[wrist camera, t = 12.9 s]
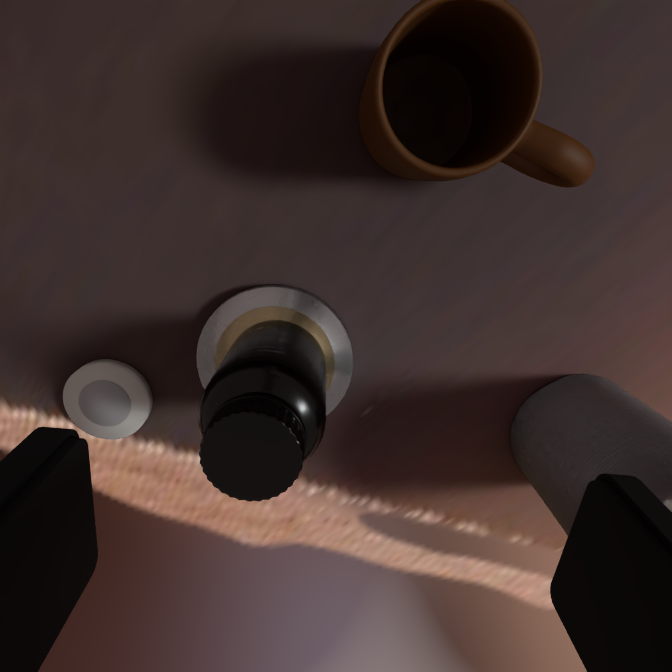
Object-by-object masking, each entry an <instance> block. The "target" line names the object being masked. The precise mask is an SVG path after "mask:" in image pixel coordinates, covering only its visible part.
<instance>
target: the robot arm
mask: <svg viewBox="0 0 672 672" xmlns="http://www.w3.org/2000/svg"><path fill="white" fill-rule="evenodd" d="M97 558H98V548H97V537H96V526H95V516H94V505H93V494H92V483H91V472H90V461H89V451H88V443H87V441H86V440H85V439H83V438H79V435H78V433H77V431H75V430H73V429H62V428H50V427H39V428H37V429H35V430H34V431H33V432H32V433H31V434H30V435H28V436H27V437H26V438H25V439H24V440H23V441H22V442H21V443H20V444H19V445H18V446H17V447H16V448H14V449H13V450H12V451H11V452H10V453H9V454H8V455H7V456H6V457H5V458H4V459H3V460H1V461H0V672H38V670H39V669H40V667H41V665H42V663H43V661H44V660H45V658H46V656H47V654H48V653H49V651H50V649H51V647H52V645H53V644H54V642H55V640H56V638H57V637H58V635H59V633H60V631H61V629H62V628H63V626H64V624H65V622H66V620H67V619H68V617H69V615H70V613H71V612H72V610H73V608H74V606H75V605H76V603H77V601H78V599H79V598H80V596H81V594H82V592H83V591H84V589H85V587H86V585H87V584H88V582H89V580H90V578H91V576H92V574H93V572H94V570H95V566H96V563H97ZM550 593H551V599H552V603H553V605H554V607H555V609H556V611H557V613H558V615H559V617H560V619H561V621H562V623H563V625H564V627H565V629H566V631H567V633H568V635H569V637H570V639H571V641H572V643H573V645H574V647H575V649H576V651H577V653H578V654H579V657H580V658H581V660H582V662H583V664H584V666H585V668H586V670H587V672H672V512H671V511H670V510H669V509H668V508H667V507H666V506H665V505H664V504H663V503H662V502H661V501H660V500H659V499H658V498H657V497H656V496H655V495H654V494H653V493H652V492H651V490H650V489H649V488H648V487H647V486H646V485H645V484H644V483H643V482H642V481H641V480H639V479H638V478H637V477H635V476H631V475H619V474H607V473H603V474H600V475H598V476H597V477H596V479H595V480H593V481H590V482H589V483H588V485H587V487H586V490H585V492H584V495H583V498H582V500H581V503H580V506H579V509H578V511H577V514H576V517H575V520H574V522H573V525H572V528H571V530H570V533H569V536H568V539H567V541H566V544H565V547H564V550H563V552H562V555H561V558H560V561H559V564H558V566H557V569H556V572H555V574H554V577H553V580H552V582H551V587H550Z"/></svg>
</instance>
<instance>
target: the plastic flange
mask: <svg viewBox="0 0 672 672" xmlns="http://www.w3.org/2000/svg"><path fill="white" fill-rule="evenodd" d="M63 403H64V407H65V410H66V412H67V414H68V416H69V417H70V419H71V420H72V421H73V422H74V424H76V425H77V426H78V427H79V428H80V429H81V430H83V431H84V432H86V433H88V434H90V435H92V436H95V437H98V438H102V439H120V438H125V437H127V436H130V435H131V434H133V433H135V432H136V431H137V430H138V429H139V428H140V427H141V426H142V425H143V423H144V422H145V421H146V419H147V418H148V416H149V415H150V413H151V410H152V405H153V397H152V392H151V389H150V386H149V384H148V383H147V381H146V380H145V378H144V377H143V376H142V375H141V374H140V373H139V372H138V371H137V370H136V369H134V368H133V367H131V366H130V365H128V364H126V363H123V362H121V361H117V360H112V359H100V360H95V361H91V362H89V363H87V364H85V365H83V366H82V367H81V368H80V369H78V370H77V371H76V372H74V373H73V374H72V375H71V376H70V377H69V379H68V380H67V382H66V384H65V386H64V390H63Z"/></svg>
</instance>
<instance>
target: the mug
mask: <svg viewBox="0 0 672 672" xmlns="http://www.w3.org/2000/svg"><path fill="white" fill-rule="evenodd" d="M542 84H543V68H542V58H541V54H540V50H539V46H538V43H537V40H536V37H535V35H534V33H533V31H532V29H531V27H530V25H529V24H528V22H527V21H526V20H525V18H524V17H523V16H522V14H521V13H520V12H519V11H518V10H517V9H516V8H515V7H514V6H513V5H511V4H510V3H509V2H507V1H506V0H422V1H421V2H419V3H418V4H416V5H415V6H414V7H412V8H411V9H410V10H409V11H408V12H407V13H405V15H404V16H403V17H402V18H401V19H400V20H399V21H398V22H397V24H396V25H395V26H394V28H393V29H392V30H391V31H390V32H389V34H388V35H387V37H386V38H385V40H384V41H383V43H382V44H381V46H380V48H379V50H378V52H377V54H376V56H375V58H374V61H373V63H372V66H371V68H370V71H369V73H368V76H367V79H366V81H365V85H364V87H363V90H362V94H361V98H360V104H359V126H360V131H361V136H362V138H363V141H364V144H365V146H366V148H367V150H368V152H369V153H370V154H371V156H372V157H373V159H374V160H375V161H376V162H377V163H378V164H379V165H380V166H381V167H383V168H384V169H385V170H387V171H388V172H390V173H392V174H394V175H396V176H398V177H401V178H405V179H410V180H421V181H449V180H456V179H461V178H464V177H468V176H471V175H474V174H477V173H480V172H482V171H484V170H487V169H489V168H490V167H492V166H494V165H495V164H497V163H498V162H502V163H504V164H506V165H508V166H510V167H512V168H514V169H516V170H517V171H519V172H521V173H523V174H525V175H528V176H530V177H532V178H535V179H537V180H540V181H542V182H546V183H549V184H552V185H556V186H560V187H566V188H567V187H576V186H579V185H581V184H583V183H585V181H586V180H587V179H588V178H589V177H590V176H591V174H592V172H593V170H594V167H595V160H594V158H593V156H592V154H591V152H590V150H588V149H587V148H586V147H585V146H584V145H583V144H581V143H580V142H578V141H577V140H575V139H574V138H572V137H570V136H568V135H566V134H564V133H562V132H560V131H558V130H555V129H553V128H551V127H549V126H546V125H544V124H542V123H539V122H537V121H535V120H534V117H535V114H536V111H537V109H538V105H539V101H540V97H541V91H542Z"/></svg>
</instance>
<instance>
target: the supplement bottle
mask: <svg viewBox="0 0 672 672" xmlns="http://www.w3.org/2000/svg"><path fill="white" fill-rule="evenodd" d="M325 423H326V361H325V356H324V353H323V350H322V348H321V346H320V344H319V343H318V341H317V340H316V339H315V337H314V336H313V335H312V334H311V333H310V332H308V331H307V330H306V329H304V328H303V327H301V326H299V325H297V324H295V323H292V322H288V321H283V320H268V321H263V322H260V323H257V324H254V325H252V326H251V327H249V328H247V329H246V330H245V331H243V332H242V333H241V334H240V335H239V336H238V337H237V339H236V340H235V341H234V343H233V344H232V346H231V347H230V349H229V350H228V352H227V354H226V355H225V357H224V359H223V360H222V362H221V363H220V365H219V367H218V368H217V370H216V372H215V373H214V375H213V376H212V378H211V380H210V381H209V383H208V385H207V386H206V388H205V390H204V392H203V395H202V397H201V400H200V403H199V409H198V424H199V429H200V433H201V436H202V438H203V439H202V441H201V443H200V448H201V449H200V451H199V456H200V458H201V459H200V464H201V466H202V467H203V472H204V473H205V474H206V475H207V479H208V480H209V481H210V482H212V484H213V486H214V487H216V488H218V489H219V490H220V491H221V492H222V493H225V494H227V495H228V496H229V497H234V498H237V499H238V500H246V501H261V500H269V499H270V498H272V497H277V496H278V495H279V494H280V493H282V492H285V491H286V490H287V488H288V487H290V486H292V485H293V482H294V481H295V480H296V479H297V478H298V476H299V472H300V471H301V470H302V464H303V463H304V462H305V461H307V460H308V459H309V458H310V457H311V456H312V454H313V453H314V452H315V450H316V449H317V447H318V446H319V444H320V442H321V440H322V437H323V434H324V430H325Z"/></svg>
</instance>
